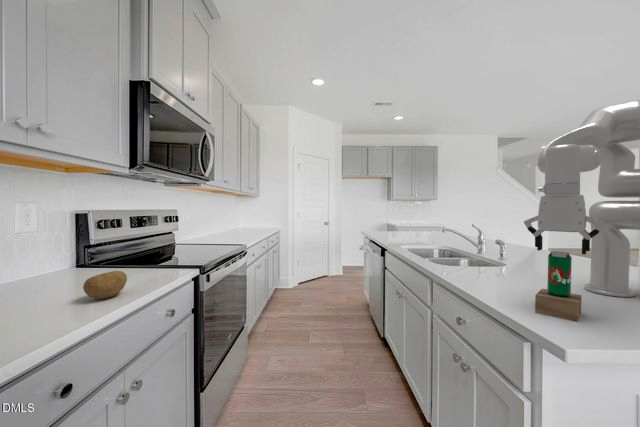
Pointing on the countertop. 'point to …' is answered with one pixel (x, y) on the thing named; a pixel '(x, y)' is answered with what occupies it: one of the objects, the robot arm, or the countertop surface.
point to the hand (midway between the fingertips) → (561, 251)
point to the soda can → (559, 274)
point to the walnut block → (558, 305)
